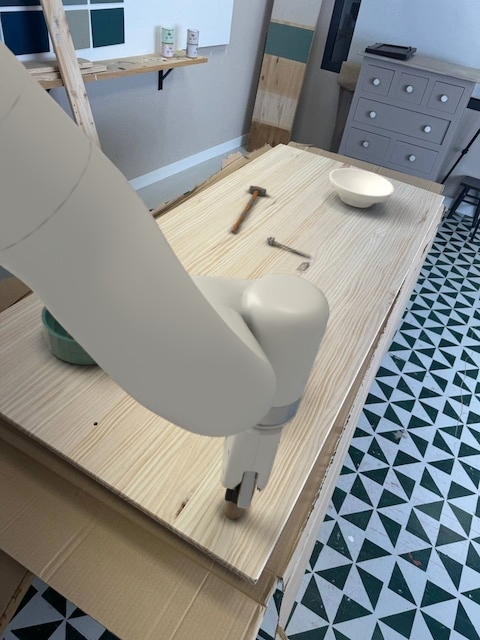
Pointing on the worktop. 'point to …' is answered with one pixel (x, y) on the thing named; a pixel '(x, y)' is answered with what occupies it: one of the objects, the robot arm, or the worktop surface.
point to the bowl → (360, 187)
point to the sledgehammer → (250, 202)
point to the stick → (232, 510)
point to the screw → (271, 240)
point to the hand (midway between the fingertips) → (238, 487)
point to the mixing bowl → (62, 341)
